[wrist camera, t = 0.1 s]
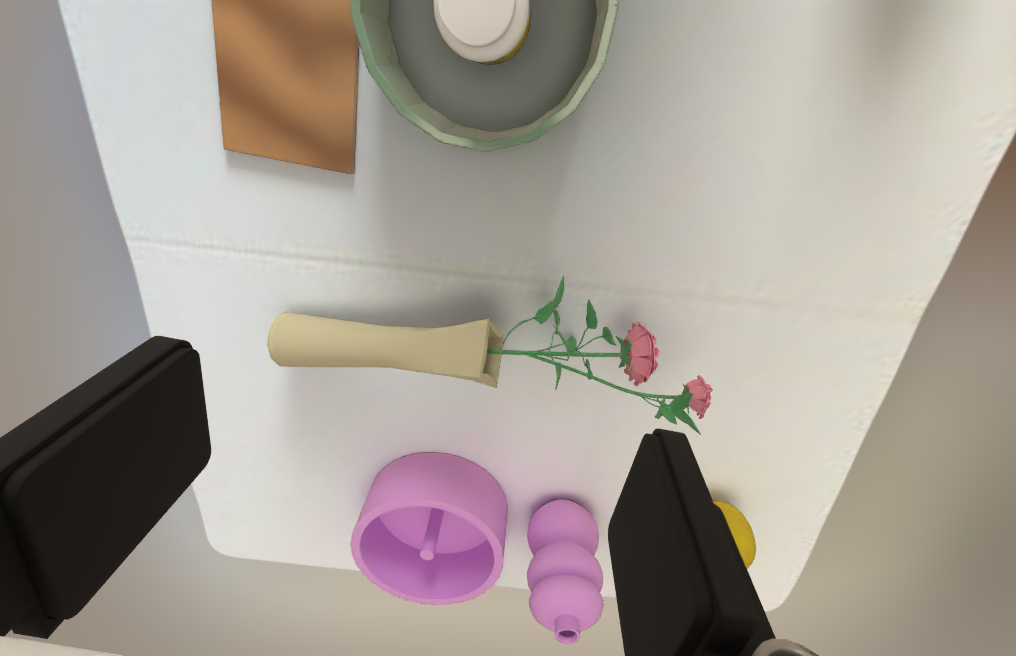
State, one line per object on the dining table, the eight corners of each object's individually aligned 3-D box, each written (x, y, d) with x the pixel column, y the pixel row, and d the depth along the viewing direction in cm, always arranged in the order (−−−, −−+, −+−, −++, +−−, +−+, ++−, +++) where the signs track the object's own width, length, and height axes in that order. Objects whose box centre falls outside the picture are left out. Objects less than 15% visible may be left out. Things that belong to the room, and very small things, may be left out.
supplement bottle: (475, 79, 35) (453, 80, 26) (437, -2, 33) (400, -30, 24) (544, 41, 34) (545, 28, 25) (510, -46, 32) (497, -93, 23)
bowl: (388, -151, 30) (355, -200, 25) (633, -98, 30) (652, -136, 25) (375, 117, 37) (346, 123, 31) (574, 156, 37) (579, 169, 32)
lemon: (745, 488, 51) (778, 555, 44) (726, 526, 53) (755, 595, 46) (692, 481, 51) (716, 546, 44) (676, 518, 53) (697, 586, 46)
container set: (376, 547, 58) (335, 665, 47) (364, 447, 51) (312, 556, 40) (587, 564, 57) (599, 689, 46) (604, 464, 51) (624, 581, 39)
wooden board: (200, -200, 29) (194, -205, 29) (366, -164, 30) (363, -169, 29) (227, 148, 38) (223, 149, 38) (354, 173, 39) (351, 174, 38)
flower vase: (344, 265, 50) (711, 273, 40) (349, 381, 52) (700, 416, 42) (254, 271, 39) (730, 284, 29) (265, 418, 41) (715, 477, 31)
